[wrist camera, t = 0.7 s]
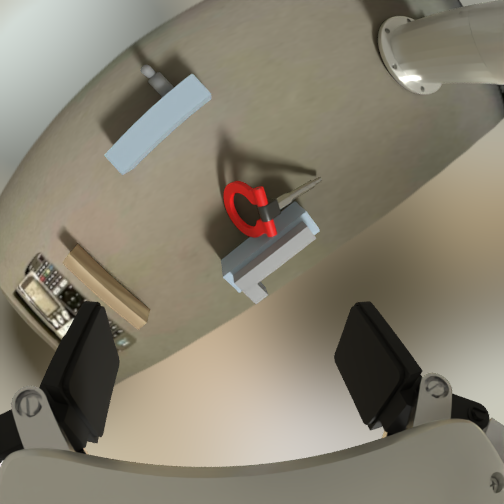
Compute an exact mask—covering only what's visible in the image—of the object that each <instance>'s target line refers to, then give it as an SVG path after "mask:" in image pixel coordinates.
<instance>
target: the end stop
mask: <svg viewBox="0 0 504 504" xmlns="http://www.w3.org/2000/svg"><path fill="white" fill-rule="evenodd" d="M63 264H64V265H65V266H66V267H67V268H68V269H69V270H70V271H71V272H72V273H73V274H74V275H75V276H76V277H77V278H78V279H79V280H80V281H81V282H83V283H84V284H85V285H86V286H87V287H88V288H89V289H90V290H91V291H92V292H93V293H95V294H96V295H97V296H98V297H99V298H100V299H101V300H103V301H104V302H105V303H106V304H107V305H108V306H110V307H111V308H112V309H113V310H114V311H116V312H117V313H118V314H119V315H120V316H122V317H123V318H124V319H125V320H127V321H128V322H129V323H130V324H132V325H133V326H134V327H136V328H137V329H138V330H139V329H140V328H141V327H142V326H143V325H145V324H146V323H147V320H148V316H149V312H150V309H149V308H148V307H146V306H145V305H144V304H143V303H142V302H140V301H139V300H138V299H137V298H136V297H134V296H133V295H132V294H131V293H130V292H129V291H128V290H126V289H125V288H124V287H123V286H122V285H121V284H120V283H119V282H117V281H116V280H115V279H114V278H113V277H112V276H111V275H110V274H109V273H108V272H106V271H105V270H104V269H103V268H102V267H101V266H100V265H99V264H98V263H97V262H96V261H95V260H94V259H93V258H92V257H91V256H90V255H89V254H88V253H87V252H86V251H85V250H84V249H83V248H82V247H81V246H80V245H79V244H78V245H77V246H76V247H75V248H74V249H73V250H72V251H71V252H70V253H69V254H68V256H67V257H66V258H65V260H64V261H63Z"/></svg>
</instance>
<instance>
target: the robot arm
mask: <svg viewBox="0 0 504 504" xmlns="http://www.w3.org/2000/svg"><path fill="white" fill-rule="evenodd" d="M378 46H379V50H380V54H381V57H382V59H383V62H384V64H385V66H386V67H387V69H388V71H389V72H390V74H391V75H392V76H393V77H394V79H395V80H396V81H397V82H398V83H399V84H400V85H402V86H403V87H404V88H405V89H407V90H409V91H411V92H413V93H416V94H431V93H434V92H435V91H437V90H438V89H439V88H440V86H441V85H442V83H485V84H503V85H504V0H495V1H490V2H485V3H479V4H474V5H469V6H465V7H460V8H456V9H452V10H448V11H444V12H440V13H437V14H433V15H430V16H426V17H423V18H420V19H417V20H414V19H412V18H409V17H405V16H395V17H391V18H389V19H387V20H386V21H385V22H383V24H382V25H381V27H380V29H379V33H378ZM334 359H335V363H336V365H337V367H338V369H339V371H340V373H341V375H342V378H343V380H344V382H345V384H346V386H347V388H348V390H349V393H350V395H351V397H352V399H353V401H354V403H355V405H356V408H357V410H358V412H359V414H360V416H361V418H362V420H363V423H364V424H366V425H368V427H369V429H370V430H373V429H376V428H379V427H382V426H383V428H384V433H383V437H382V438H381V439H378V440H375V441H372V442H369V443H365V444H362V445H359V446H355V447H351V448H348V449H344V450H340V451H336V452H332V453H327V454H323V455H318V456H313V457H308V458H302V459H297V460H290V461H284V462H276V463H269V464H259V465H248V466H232V467H231V466H230V467H181V466H179V467H178V466H164V465H153V464H143V463H136V462H128V461H120V460H114V459H109V458H103V457H98V456H93V455H89V454H88V452H87V451H86V449H85V447H86V443H87V441H88V442H93V443H98V437H102V435H103V432H104V427H105V422H106V417H107V413H108V408H109V404H110V400H111V395H112V391H113V387H114V383H115V379H116V375H117V372H118V368H119V356H118V353H117V350H116V347H115V343H114V340H113V337H112V333H111V330H110V326H109V322H108V319H107V315H106V311H105V308H104V307H103V306H101V305H100V303H99V302H90V301H85V302H84V303H83V304H82V306H81V307H80V309H79V311H78V313H77V315H76V316H75V318H74V320H73V322H72V324H71V326H70V327H69V329H68V331H67V333H66V335H64V337H63V338H62V340H61V342H60V344H59V346H58V348H57V350H56V352H55V355H54V356H53V358H52V360H51V363H50V365H49V367H48V369H47V371H46V374H45V376H44V378H43V380H42V382H41V385H40V387H39V388H38V387H35V386H26V387H23V388H21V389H20V390H18V391H17V392H16V393H15V395H14V397H13V398H12V403H11V407H12V409H11V410H9V411H7V412H5V413H3V414H1V415H0V504H504V426H503V425H502V424H501V423H499V422H497V421H496V420H495V419H493V418H491V419H490V420H489V414H488V411H487V410H486V408H485V407H484V406H483V405H482V404H480V403H477V402H474V401H472V400H469V399H466V398H463V397H460V396H457V395H455V394H452V387H451V385H450V383H449V382H448V380H447V379H446V378H444V377H443V376H442V375H439V374H436V373H428V374H426V375H424V377H422V376H421V375H420V374H421V372H422V369H421V368H420V367H419V365H418V364H417V362H416V361H415V360H414V358H413V357H412V355H411V354H410V353H409V351H408V350H407V349H406V347H405V346H404V344H403V343H402V342H401V340H400V339H399V338H398V337H397V335H396V334H395V332H394V331H393V330H392V328H391V327H390V326H389V325H388V323H387V322H386V321H385V319H384V318H383V317H382V315H381V314H380V313H379V311H378V310H377V309H376V308H375V306H374V305H373V304H372V303H371V302H358V303H356V304H355V305H354V306H353V307H352V308H351V310H350V313H349V316H348V319H347V322H346V324H345V327H344V330H343V333H342V336H341V338H340V341H339V344H338V347H337V349H336V352H335V356H334Z"/></svg>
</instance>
